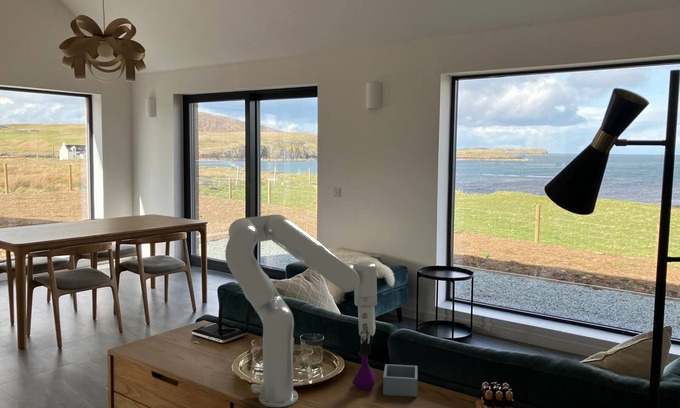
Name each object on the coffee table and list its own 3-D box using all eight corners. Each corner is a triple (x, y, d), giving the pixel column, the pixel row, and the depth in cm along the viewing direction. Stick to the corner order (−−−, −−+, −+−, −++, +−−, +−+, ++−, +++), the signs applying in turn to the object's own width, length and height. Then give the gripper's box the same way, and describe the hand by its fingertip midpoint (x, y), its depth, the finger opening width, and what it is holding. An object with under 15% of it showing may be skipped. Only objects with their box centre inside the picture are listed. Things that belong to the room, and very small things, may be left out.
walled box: (383, 394, 185) (383, 377, 185) (385, 380, 196) (385, 364, 196) (417, 396, 184) (417, 379, 183) (417, 382, 195) (417, 365, 194)
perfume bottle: (374, 393, 186) (374, 341, 184) (352, 391, 188) (352, 339, 186) (377, 384, 193) (377, 333, 191) (355, 382, 195) (356, 332, 193)
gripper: (375, 307, 178) (376, 359, 180) (378, 292, 195) (379, 340, 197) (351, 307, 179) (352, 358, 181) (357, 292, 196) (358, 340, 198)
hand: (366, 349), depth 189 cm, fingers open, 9 cm apart
